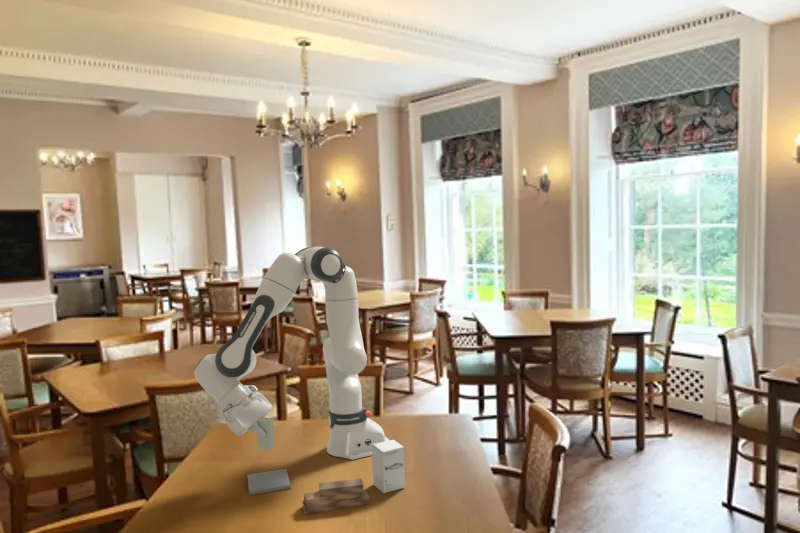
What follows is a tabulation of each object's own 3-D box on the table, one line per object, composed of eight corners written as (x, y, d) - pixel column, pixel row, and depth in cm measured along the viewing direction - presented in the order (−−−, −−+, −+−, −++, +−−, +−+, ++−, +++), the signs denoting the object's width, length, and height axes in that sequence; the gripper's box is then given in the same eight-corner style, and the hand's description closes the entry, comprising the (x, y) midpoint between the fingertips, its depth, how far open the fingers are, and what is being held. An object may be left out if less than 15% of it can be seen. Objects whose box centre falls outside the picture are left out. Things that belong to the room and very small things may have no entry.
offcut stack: (365, 495, 168) (364, 475, 168) (370, 504, 163) (369, 483, 162) (302, 506, 163) (301, 485, 162) (305, 515, 157) (304, 494, 157)
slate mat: (286, 471, 186) (286, 468, 185) (290, 488, 174) (290, 485, 174) (247, 477, 182) (247, 474, 182) (249, 494, 171) (248, 491, 171)
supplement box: (383, 494, 168) (382, 451, 167) (372, 484, 175) (371, 443, 174) (406, 488, 172) (404, 446, 171) (394, 478, 178) (393, 438, 177)
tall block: (262, 446, 179) (260, 417, 178) (274, 446, 178) (273, 418, 177) (258, 449, 176) (257, 420, 176) (270, 450, 176) (269, 420, 175)
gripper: (226, 403, 167) (259, 438, 166) (257, 384, 187) (287, 415, 186) (212, 418, 168) (245, 453, 167) (244, 397, 188) (274, 428, 187)
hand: (267, 433), depth 177 cm, fingers closed on tall block, 2 cm apart
